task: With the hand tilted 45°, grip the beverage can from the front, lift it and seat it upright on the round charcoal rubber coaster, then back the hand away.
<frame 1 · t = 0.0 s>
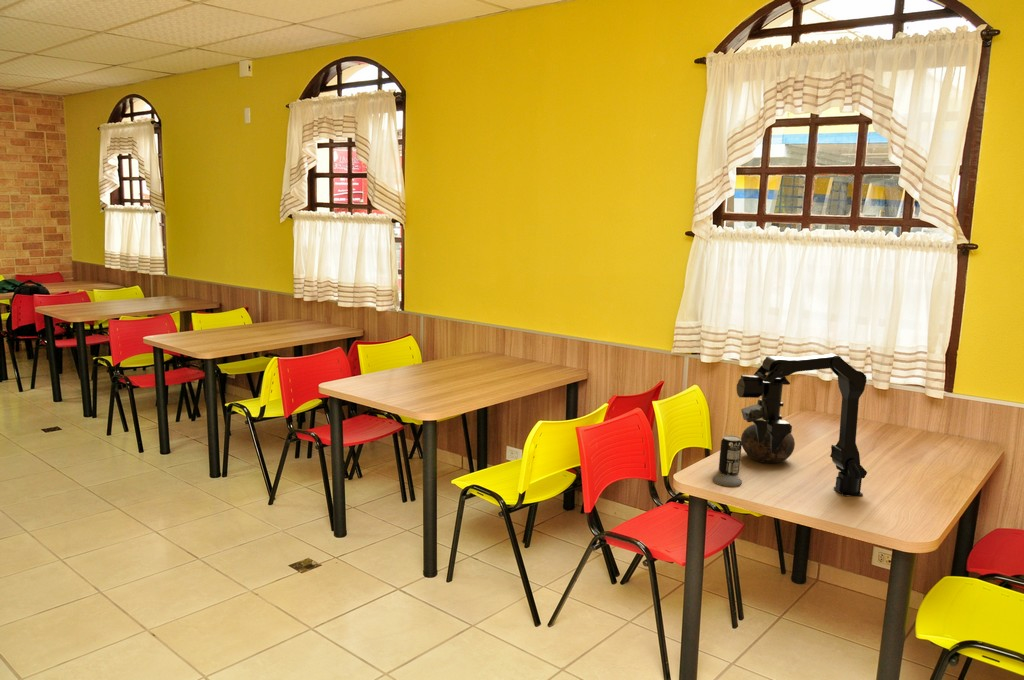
hand: (766, 447, 237), 15 cm above the table, tool pointing down, fingers open, 9 cm apart
coaster: (727, 481, 247), on the table
beverage can: (728, 472, 257), on the table
brown vase: (765, 459, 272), on the table
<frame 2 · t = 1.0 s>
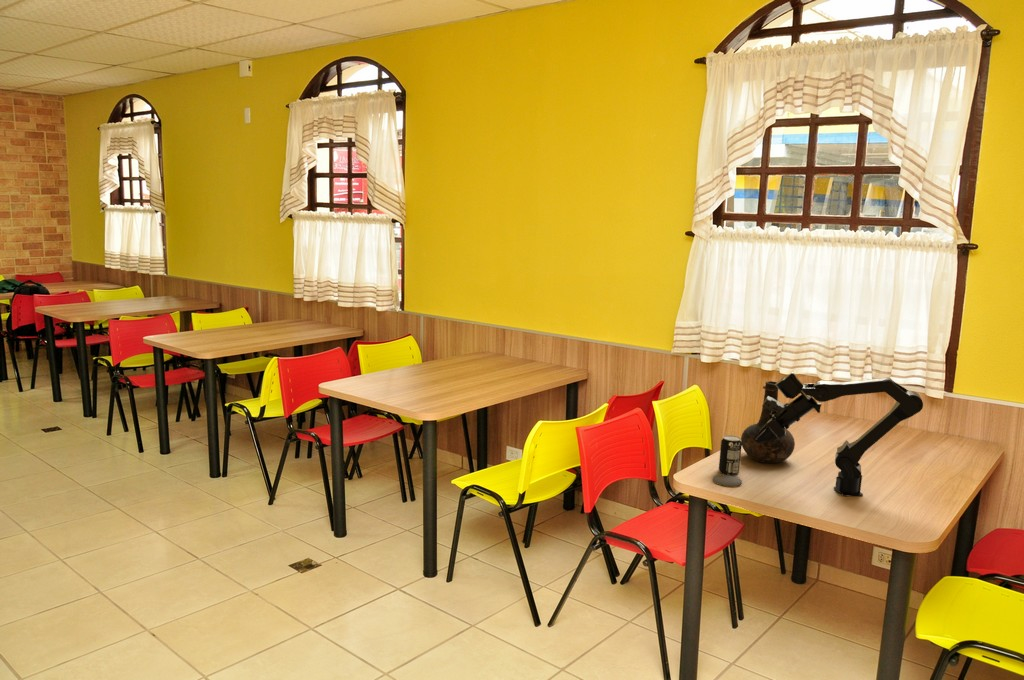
hand: (757, 437, 251), 13 cm above the table, tool tilted 45°, fingers open, 9 cm apart
nothing on the table moved.
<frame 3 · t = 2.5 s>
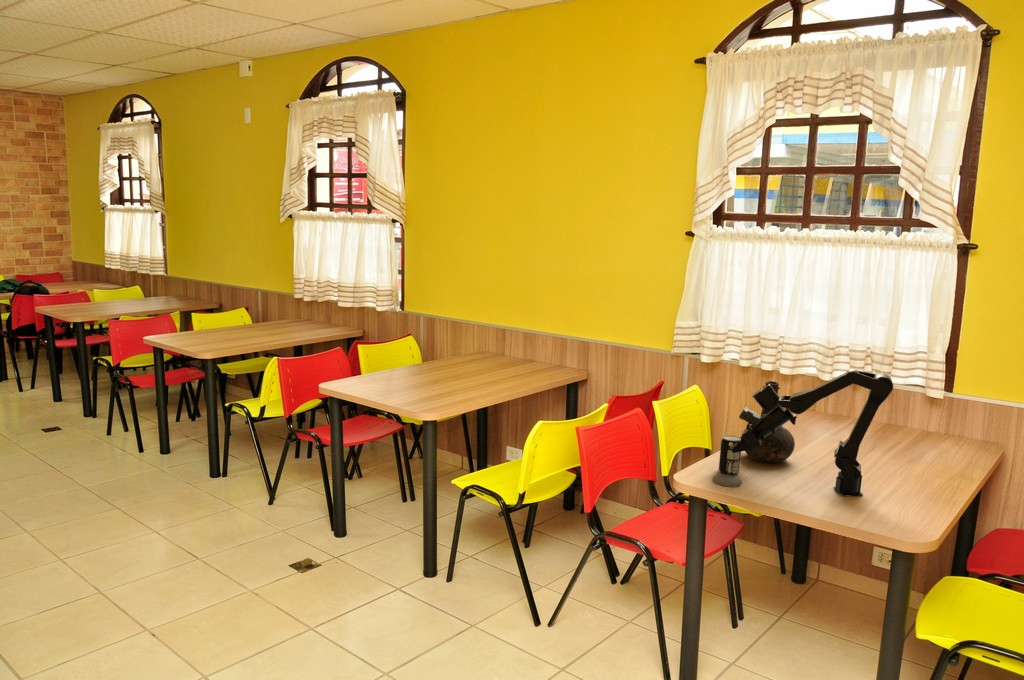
hand: (734, 447, 255), 9 cm above the table, tool tilted 45°, fingers open, 9 cm apart
nothing on the table moved.
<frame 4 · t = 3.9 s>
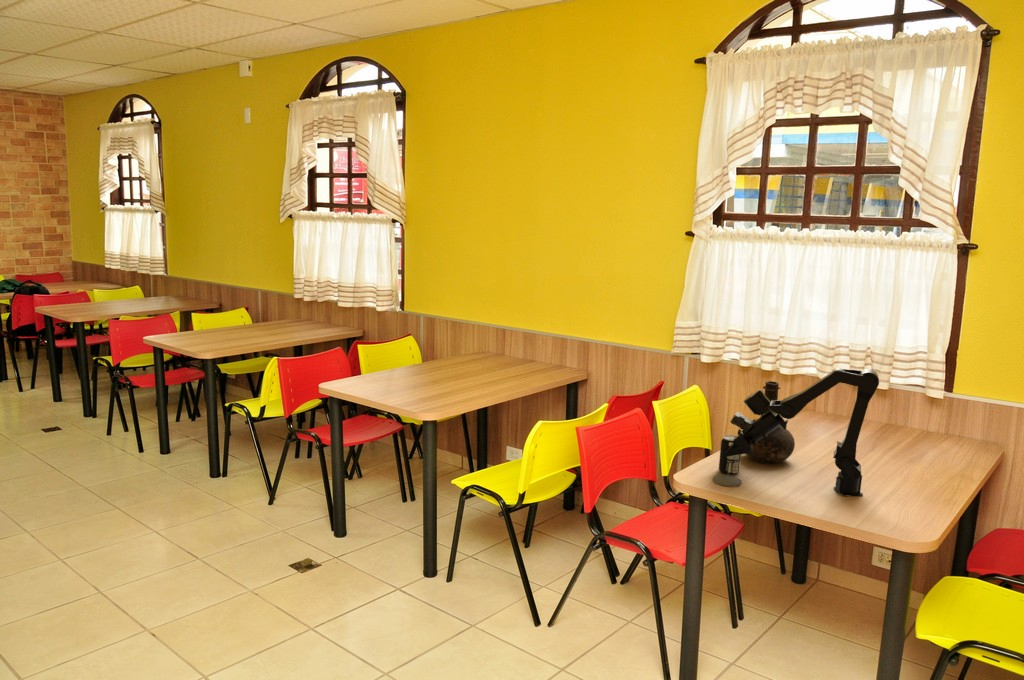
hand: (726, 452, 256), 7 cm above the table, tool tilted 45°, fingers closed on beverage can, 7 cm apart
beverage can: (728, 472, 257), on the table, touching gripper
everything else where it was.
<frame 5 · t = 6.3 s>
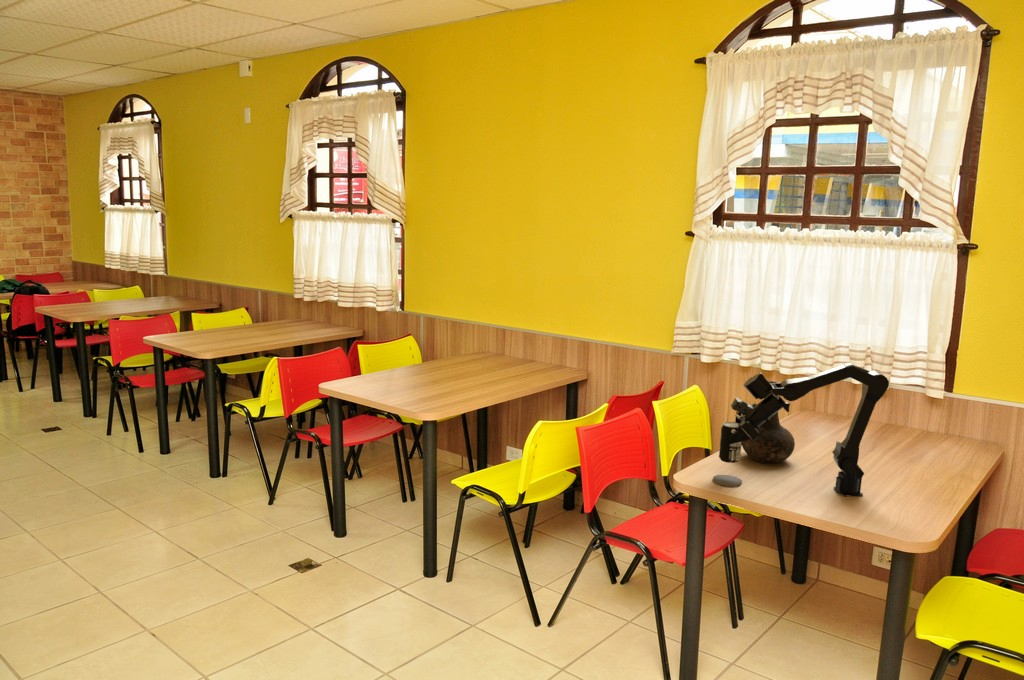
hand: (726, 440, 247), 13 cm above the table, tool tilted 45°, fingers closed on beverage can, 7 cm apart
beverage can: (729, 460, 248), point 6 cm above the table, touching gripper
everything else where it was.
when the fingers open (8 cm above the table, at t = 8.6 s): beverage can stays where it is, resting on coaster.
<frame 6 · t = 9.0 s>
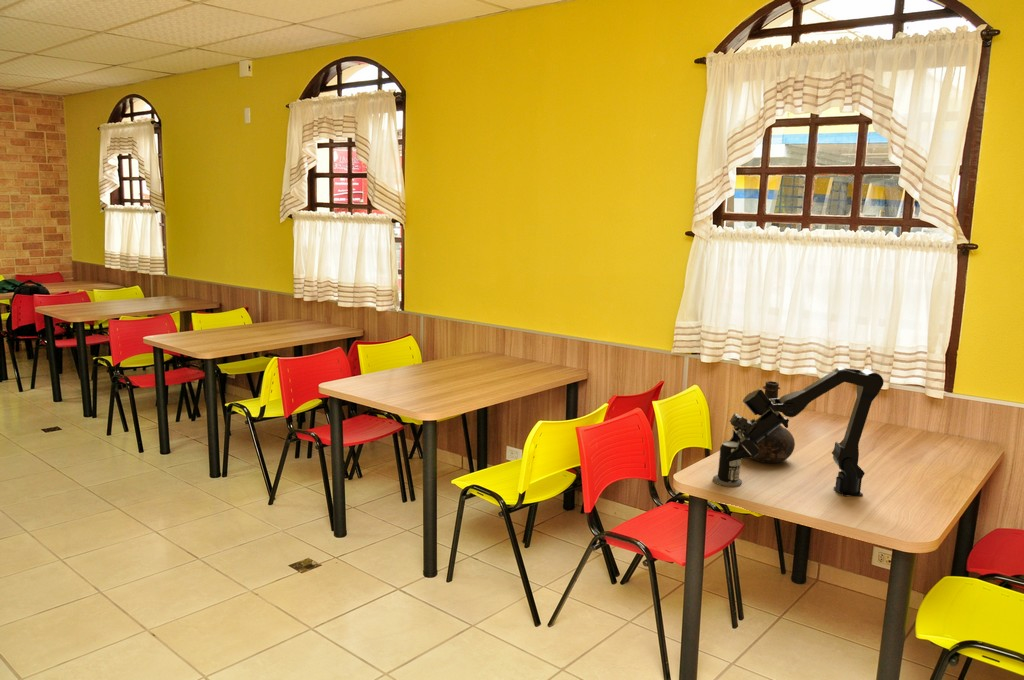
hand: (725, 456, 246), 9 cm above the table, tool tilted 45°, fingers open, 9 cm apart
beverage can: (728, 480, 247), point 1 cm above the table, touching coaster
everything else where it was.
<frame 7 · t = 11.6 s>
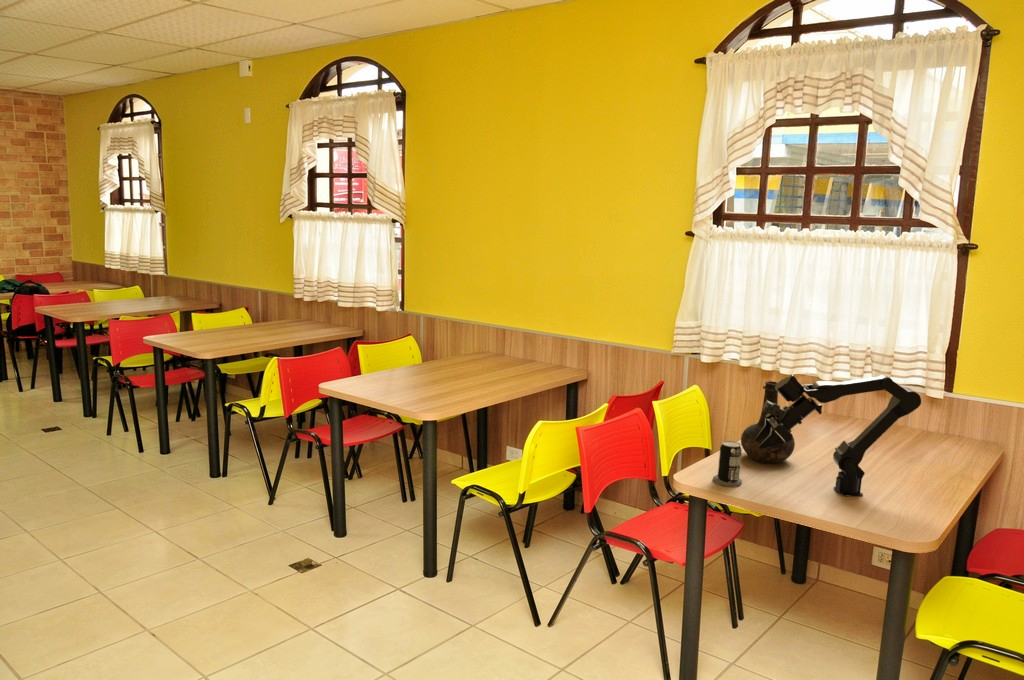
hand: (758, 443, 244), 13 cm above the table, tool tilted 45°, fingers open, 9 cm apart
nothing on the table moved.
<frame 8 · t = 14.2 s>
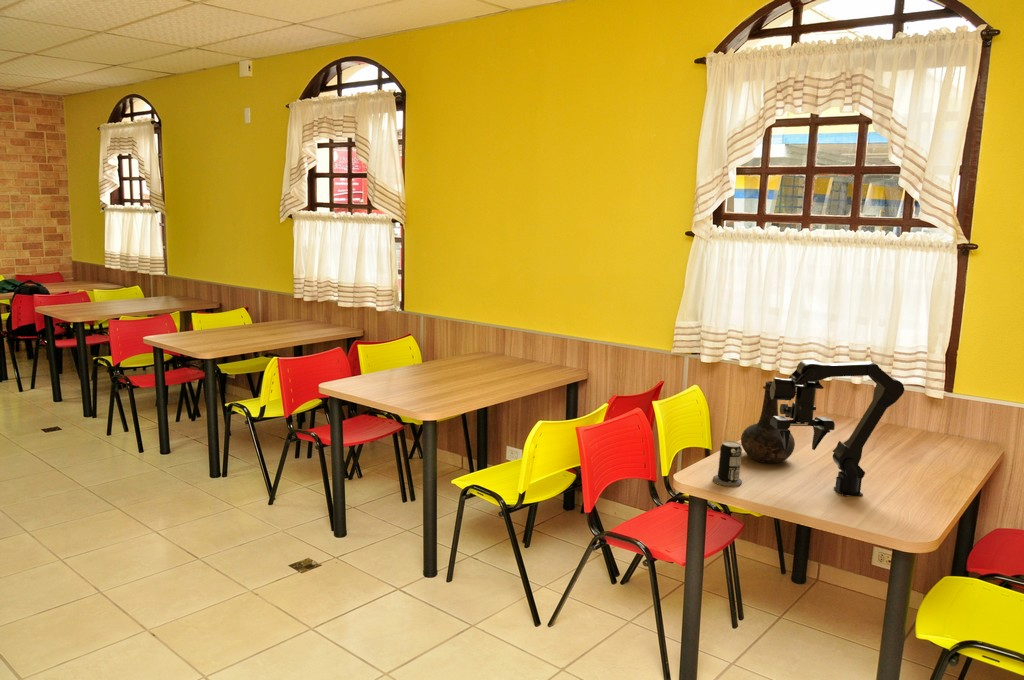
hand: (799, 449, 241), 13 cm above the table, tool pointing down, fingers open, 9 cm apart
nothing on the table moved.
at the end: beverage can 0.2 cm off-centre on the coaster, point 0.6 cm above the coaster's base; beverage can tilted 0°; the gripper is holding nothing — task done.
